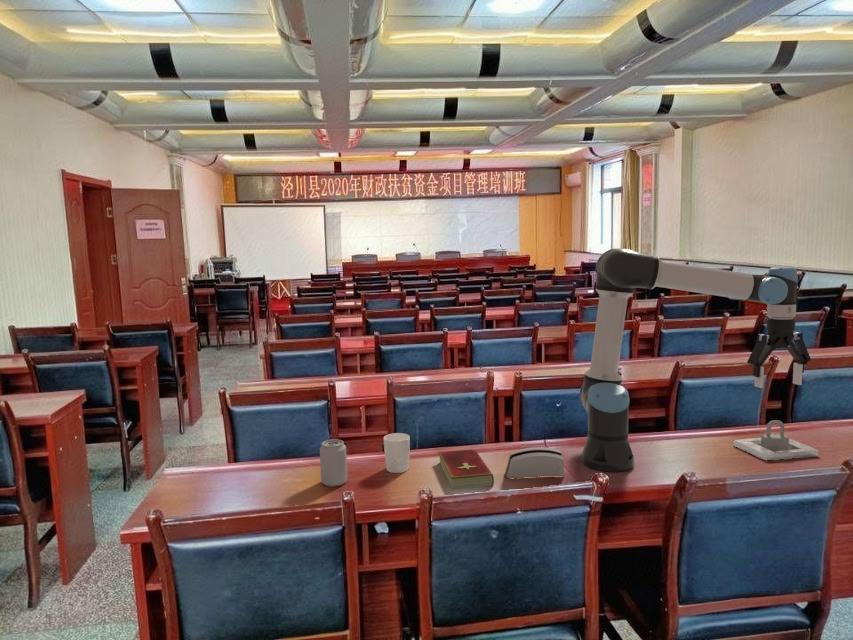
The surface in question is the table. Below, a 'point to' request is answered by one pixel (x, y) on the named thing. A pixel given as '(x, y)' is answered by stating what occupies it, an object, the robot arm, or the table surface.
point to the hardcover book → (465, 468)
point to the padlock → (775, 438)
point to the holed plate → (794, 451)
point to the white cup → (397, 452)
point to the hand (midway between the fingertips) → (778, 385)
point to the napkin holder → (535, 463)
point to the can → (333, 463)
